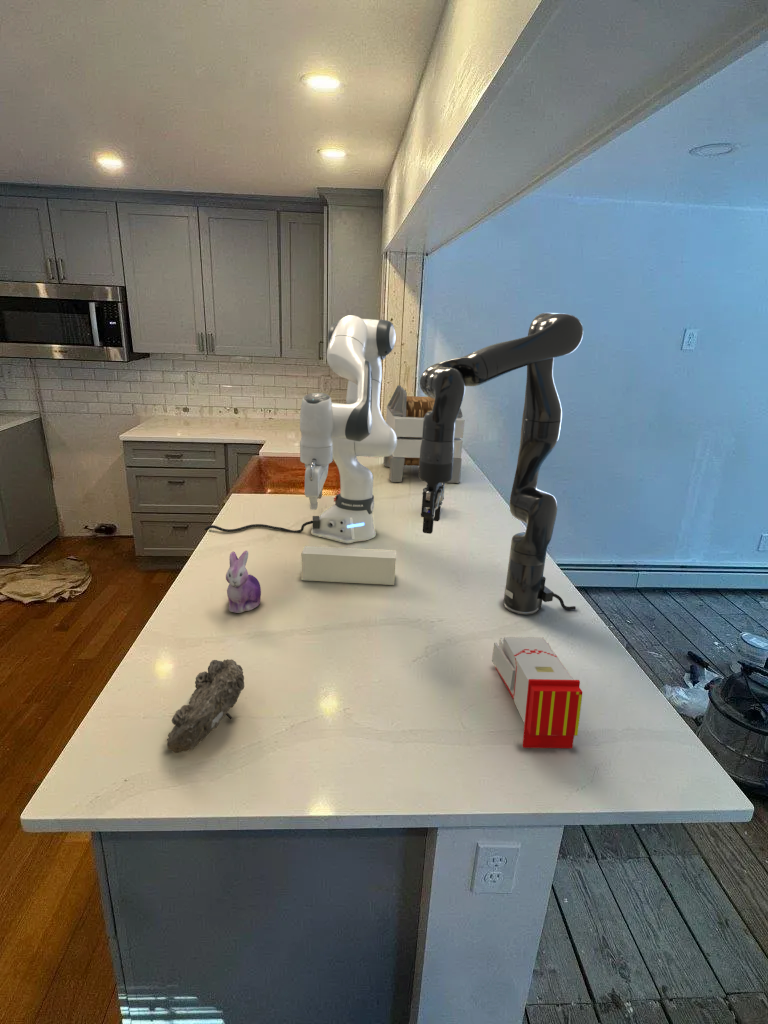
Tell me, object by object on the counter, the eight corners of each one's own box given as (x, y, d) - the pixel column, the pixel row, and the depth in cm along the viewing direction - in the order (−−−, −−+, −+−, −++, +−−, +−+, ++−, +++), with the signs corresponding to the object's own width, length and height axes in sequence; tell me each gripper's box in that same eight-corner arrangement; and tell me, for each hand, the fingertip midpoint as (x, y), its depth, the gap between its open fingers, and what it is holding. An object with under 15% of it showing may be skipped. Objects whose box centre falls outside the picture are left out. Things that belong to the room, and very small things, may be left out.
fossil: (192, 660, 117) (244, 628, 112) (224, 691, 120) (276, 661, 115) (142, 746, 98) (202, 712, 93) (182, 779, 101) (242, 748, 96)
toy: (540, 620, 128) (592, 687, 99) (535, 674, 131) (584, 755, 102) (487, 619, 128) (523, 686, 99) (483, 673, 131) (517, 754, 101)
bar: (301, 580, 163) (301, 553, 160) (304, 571, 168) (304, 545, 166) (394, 585, 163) (395, 558, 160) (394, 576, 168) (395, 550, 165)
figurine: (230, 617, 142) (227, 563, 137) (221, 599, 150) (218, 547, 145) (267, 610, 146) (266, 557, 141) (256, 593, 154) (255, 542, 149)
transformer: (382, 463, 289) (386, 382, 275) (445, 464, 293) (451, 384, 279) (390, 482, 257) (394, 392, 243) (460, 483, 261) (468, 394, 247)
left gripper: (323, 465, 143) (323, 516, 148) (332, 446, 163) (331, 492, 167) (298, 464, 143) (298, 515, 148) (310, 445, 163) (310, 491, 167)
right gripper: (447, 468, 119) (441, 539, 124) (458, 453, 131) (452, 518, 137) (412, 464, 120) (408, 535, 126) (426, 449, 133) (422, 514, 139)
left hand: (316, 503), depth 158 cm, fingers open, 8 cm apart
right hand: (431, 526), depth 131 cm, fingers open, 8 cm apart
